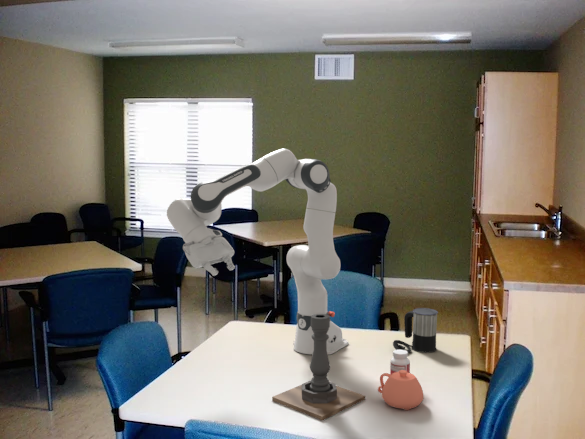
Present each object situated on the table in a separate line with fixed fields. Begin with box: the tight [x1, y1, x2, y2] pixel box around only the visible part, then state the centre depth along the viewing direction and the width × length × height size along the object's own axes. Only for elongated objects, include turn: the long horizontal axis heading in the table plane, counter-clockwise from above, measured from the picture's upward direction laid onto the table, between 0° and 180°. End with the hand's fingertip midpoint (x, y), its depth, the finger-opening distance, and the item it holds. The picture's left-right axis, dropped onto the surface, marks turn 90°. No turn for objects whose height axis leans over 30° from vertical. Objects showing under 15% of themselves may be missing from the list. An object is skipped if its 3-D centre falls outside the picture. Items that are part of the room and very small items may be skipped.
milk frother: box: [392, 307, 439, 354], centre depth 233 cm, size 14×16×15 cm
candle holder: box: [309, 314, 331, 392], centre depth 186 cm, size 6×6×25 cm
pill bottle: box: [389, 349, 411, 375], centre depth 200 cm, size 6×6×11 cm
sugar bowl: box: [377, 370, 424, 411], centre depth 185 cm, size 12×14×10 cm
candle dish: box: [271, 380, 366, 421], centre depth 188 cm, size 20×20×4 cm
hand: (224, 271), depth 205 cm, fingers open, 8 cm apart
